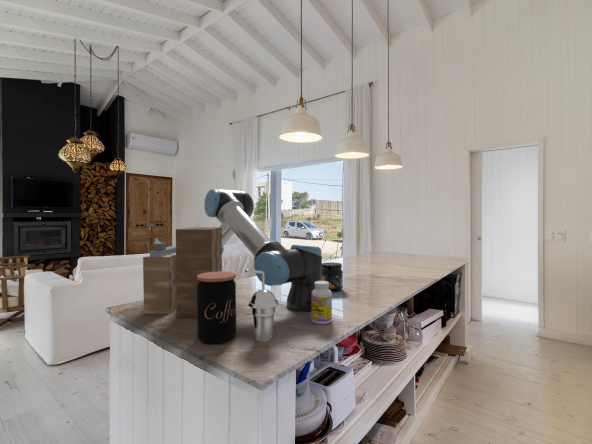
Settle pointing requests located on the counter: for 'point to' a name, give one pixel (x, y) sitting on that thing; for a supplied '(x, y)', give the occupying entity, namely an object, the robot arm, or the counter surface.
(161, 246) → the lid
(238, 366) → the counter surface
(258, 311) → the cup with straw
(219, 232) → the walnut box
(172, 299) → the oak block
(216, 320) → the coffee jar
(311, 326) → the counter surface
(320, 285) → the supplement bottle
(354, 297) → the counter surface
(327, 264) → the supplement container
